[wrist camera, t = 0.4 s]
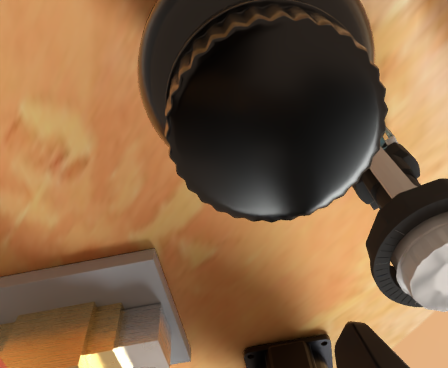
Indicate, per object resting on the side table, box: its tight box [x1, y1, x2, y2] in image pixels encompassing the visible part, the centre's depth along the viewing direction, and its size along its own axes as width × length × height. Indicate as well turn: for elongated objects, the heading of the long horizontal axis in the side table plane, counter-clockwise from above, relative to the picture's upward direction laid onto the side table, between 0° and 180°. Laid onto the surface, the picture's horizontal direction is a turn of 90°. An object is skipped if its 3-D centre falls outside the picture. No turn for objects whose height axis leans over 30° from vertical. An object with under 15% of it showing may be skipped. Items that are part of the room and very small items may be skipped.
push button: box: [352, 127, 448, 312], centre depth 18 cm, size 7×5×10 cm
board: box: [0, 248, 191, 365], centre depth 28 cm, size 10×14×1 cm
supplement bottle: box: [138, 0, 388, 222], centre depth 14 cm, size 7×7×12 cm
